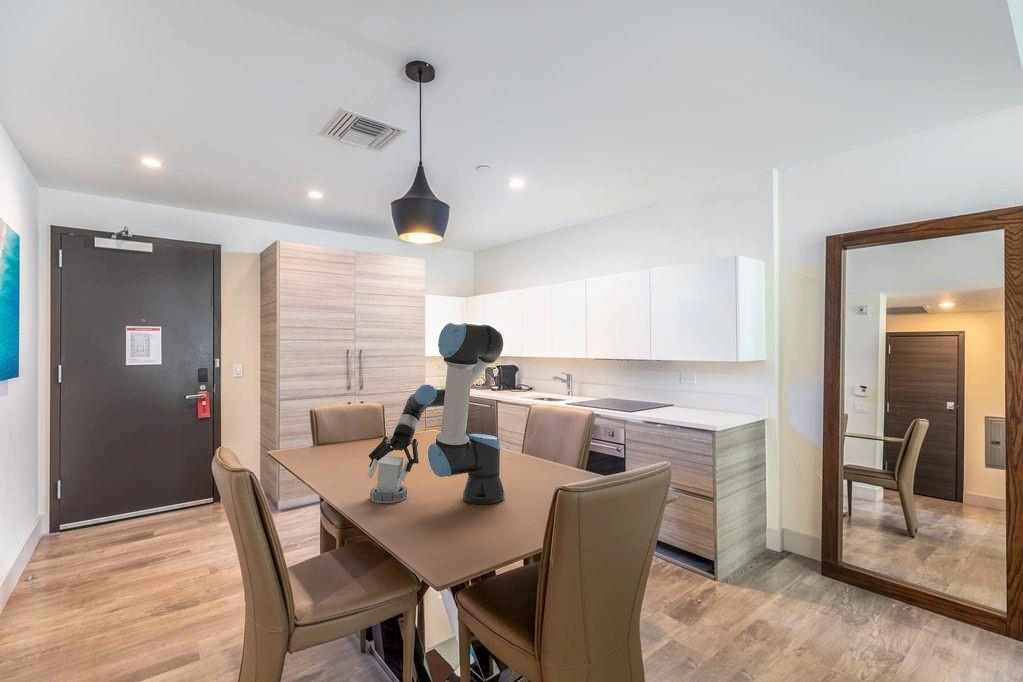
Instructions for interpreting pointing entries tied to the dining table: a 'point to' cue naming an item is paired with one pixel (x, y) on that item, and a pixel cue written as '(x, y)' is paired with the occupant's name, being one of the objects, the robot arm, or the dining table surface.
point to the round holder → (388, 496)
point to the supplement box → (389, 475)
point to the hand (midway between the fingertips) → (385, 477)
